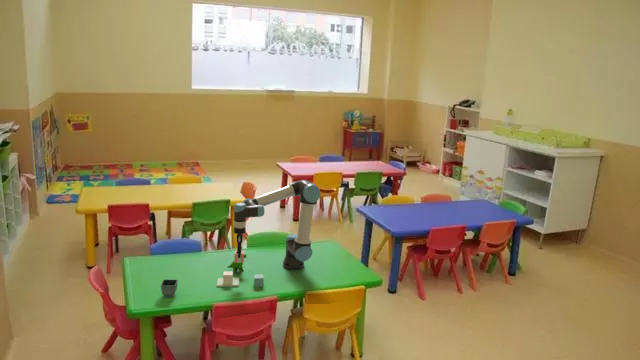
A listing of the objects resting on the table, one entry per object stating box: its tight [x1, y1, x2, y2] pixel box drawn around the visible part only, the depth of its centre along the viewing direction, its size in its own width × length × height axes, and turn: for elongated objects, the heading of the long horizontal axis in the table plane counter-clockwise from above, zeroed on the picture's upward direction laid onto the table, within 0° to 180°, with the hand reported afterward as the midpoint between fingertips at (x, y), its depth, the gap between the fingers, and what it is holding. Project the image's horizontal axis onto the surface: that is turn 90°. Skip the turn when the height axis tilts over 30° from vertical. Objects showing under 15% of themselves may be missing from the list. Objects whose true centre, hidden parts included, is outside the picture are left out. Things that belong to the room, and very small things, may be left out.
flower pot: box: [160, 279, 179, 298], centre depth 331 cm, size 9×9×9 cm
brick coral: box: [233, 250, 245, 264], centre depth 350 cm, size 6×6×6 cm
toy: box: [227, 253, 248, 274], centre depth 369 cm, size 6×14×15 cm, turn 78°
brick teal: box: [253, 273, 265, 288], centre depth 351 cm, size 6×6×6 cm
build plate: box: [216, 270, 240, 288], centre depth 352 cm, size 14×11×7 cm
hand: (239, 260), depth 351 cm, fingers closed on brick coral, 6 cm apart
